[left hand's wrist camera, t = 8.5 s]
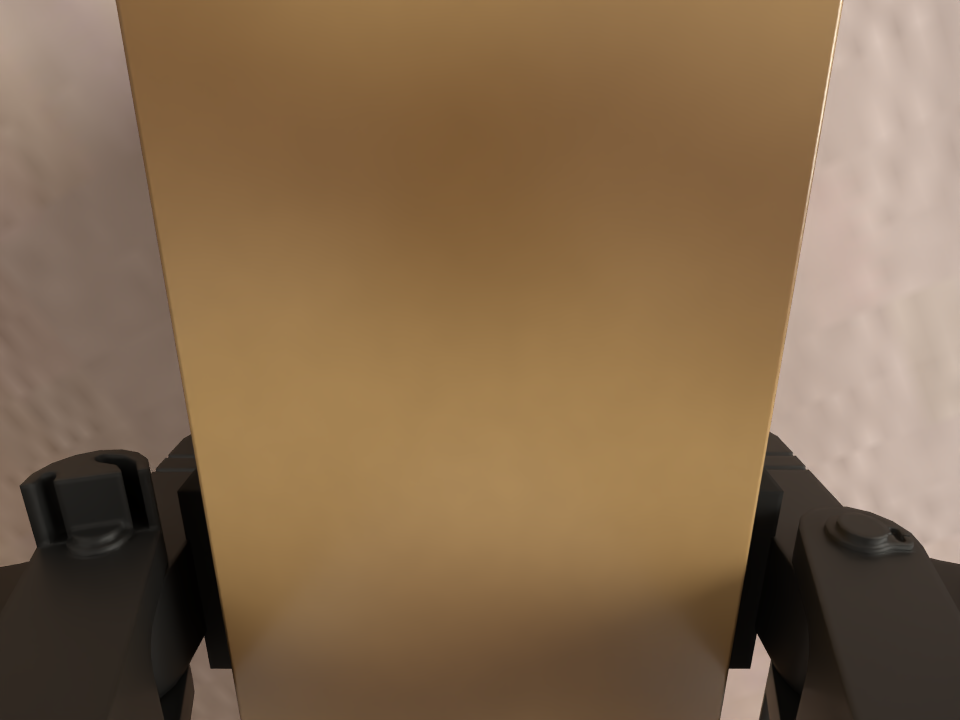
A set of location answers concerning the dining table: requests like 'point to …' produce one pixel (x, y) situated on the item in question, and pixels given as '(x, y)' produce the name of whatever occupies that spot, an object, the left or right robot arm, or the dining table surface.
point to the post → (479, 335)
